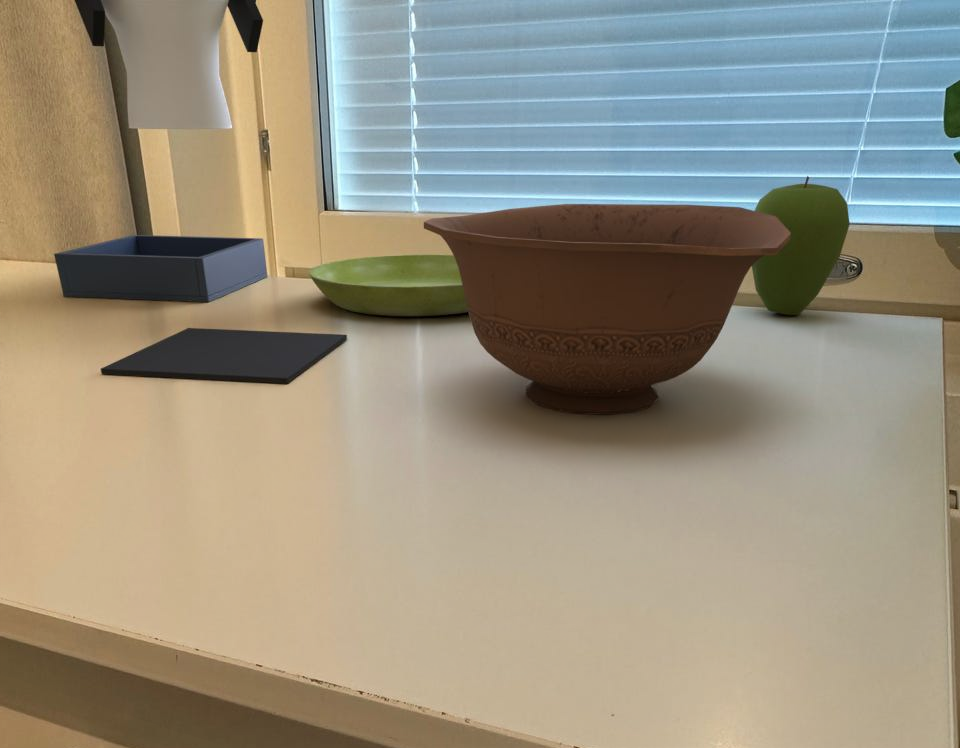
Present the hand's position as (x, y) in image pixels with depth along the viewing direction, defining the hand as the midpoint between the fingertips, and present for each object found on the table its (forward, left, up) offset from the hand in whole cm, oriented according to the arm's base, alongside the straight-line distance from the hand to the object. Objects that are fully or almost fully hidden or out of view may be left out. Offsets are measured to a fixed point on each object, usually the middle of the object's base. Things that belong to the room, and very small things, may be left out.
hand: (180, 33), depth 64 cm
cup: (-2, +2, -6) cm, 7 cm away
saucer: (+13, +17, -21) cm, 30 cm away
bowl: (+32, -13, -21) cm, 40 cm away
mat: (+4, -7, -21) cm, 22 cm away
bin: (-15, +21, -21) cm, 34 cm away
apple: (+48, +18, -21) cm, 55 cm away
